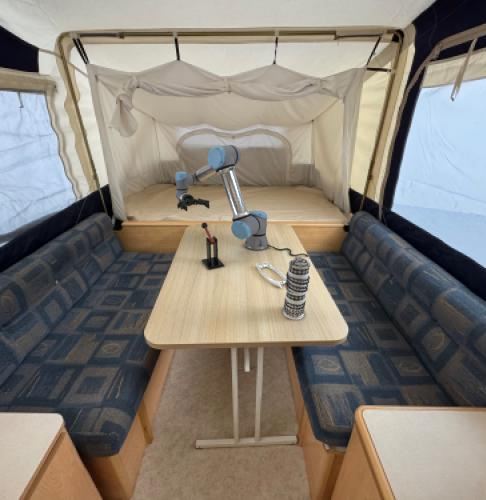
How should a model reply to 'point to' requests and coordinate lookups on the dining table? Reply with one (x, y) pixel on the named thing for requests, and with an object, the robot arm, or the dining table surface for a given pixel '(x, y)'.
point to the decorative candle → (296, 288)
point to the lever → (204, 226)
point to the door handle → (269, 277)
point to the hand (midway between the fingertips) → (198, 207)
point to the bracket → (213, 261)
